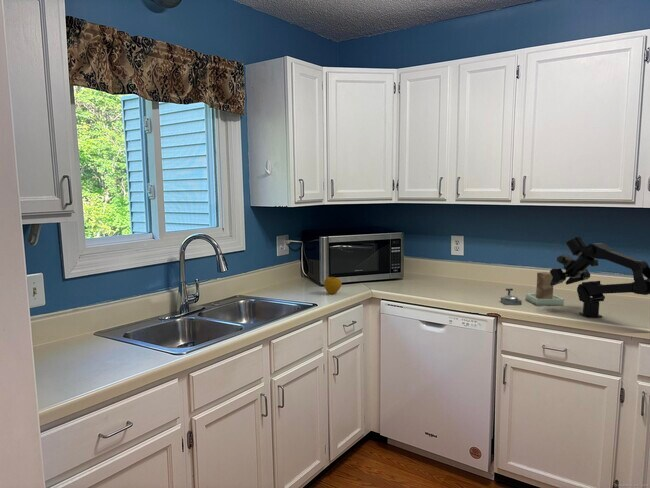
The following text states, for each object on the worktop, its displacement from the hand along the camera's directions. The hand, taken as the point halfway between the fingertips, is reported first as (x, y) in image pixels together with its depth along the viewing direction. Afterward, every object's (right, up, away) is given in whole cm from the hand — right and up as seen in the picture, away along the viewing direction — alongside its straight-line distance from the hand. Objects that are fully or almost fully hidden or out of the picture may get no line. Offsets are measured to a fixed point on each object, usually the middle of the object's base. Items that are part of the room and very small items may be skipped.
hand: (558, 284), depth 215 cm
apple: (-102, -7, +28) cm, 106 cm away
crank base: (-19, -9, +7) cm, 22 cm away
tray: (-3, -9, +8) cm, 13 cm away
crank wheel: (-19, -7, +7) cm, 21 cm away
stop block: (-3, -8, +8) cm, 12 cm away
